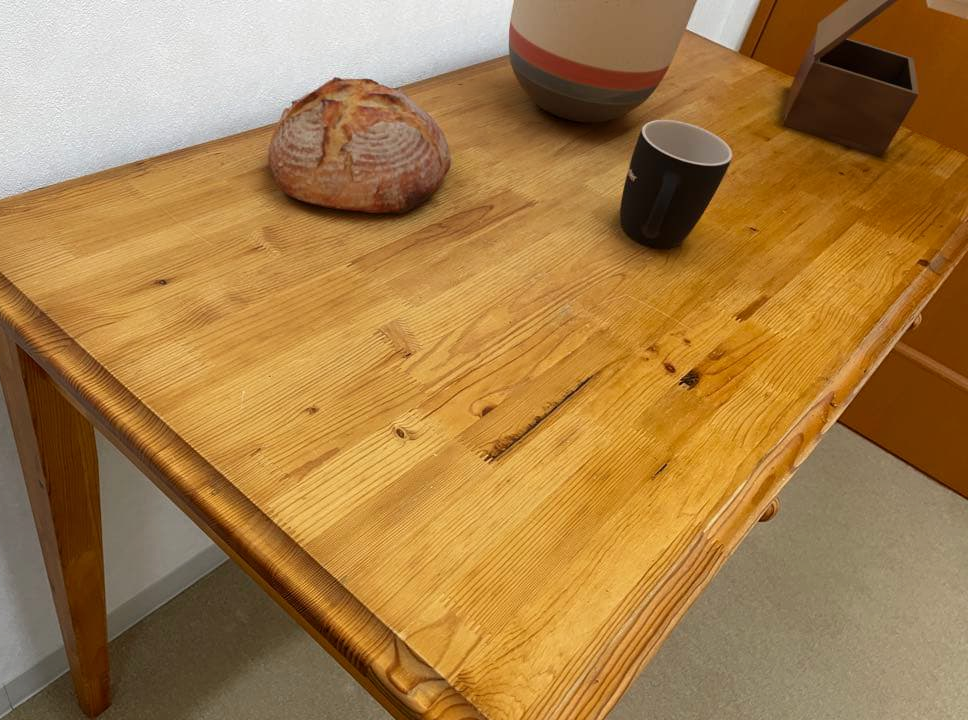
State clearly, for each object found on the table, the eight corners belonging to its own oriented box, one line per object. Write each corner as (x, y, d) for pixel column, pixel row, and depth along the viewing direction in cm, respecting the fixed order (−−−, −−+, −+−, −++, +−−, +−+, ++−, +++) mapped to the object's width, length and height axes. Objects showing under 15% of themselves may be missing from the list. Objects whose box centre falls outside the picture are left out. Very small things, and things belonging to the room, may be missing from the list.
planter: (579, 163, 96) (644, -39, 82) (457, 87, 106) (497, -106, 91) (678, 130, 108) (751, -51, 94) (561, 65, 118) (611, -109, 103)
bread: (229, 178, 83) (225, 75, 76) (362, 127, 95) (369, 35, 89) (354, 246, 76) (362, 140, 70) (480, 182, 89) (496, 87, 82)
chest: (880, 117, 125) (913, 58, 119) (882, 157, 114) (919, 94, 108) (789, 88, 127) (817, 29, 121) (782, 125, 116) (813, 61, 110)
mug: (617, 199, 92) (650, 110, 85) (697, 227, 90) (737, 139, 83) (592, 250, 83) (626, 155, 76) (680, 282, 82) (723, 189, 75)
